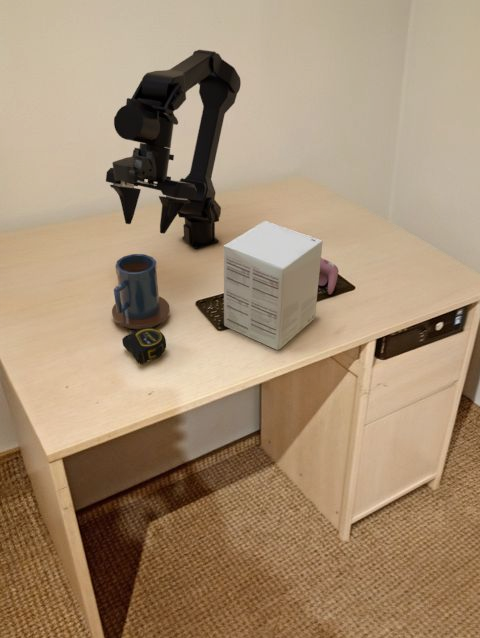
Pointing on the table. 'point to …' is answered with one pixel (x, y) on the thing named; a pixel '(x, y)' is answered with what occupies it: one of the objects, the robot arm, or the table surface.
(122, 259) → the mug
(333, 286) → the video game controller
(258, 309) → the supplement box
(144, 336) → the tape measure
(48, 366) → the table surface
